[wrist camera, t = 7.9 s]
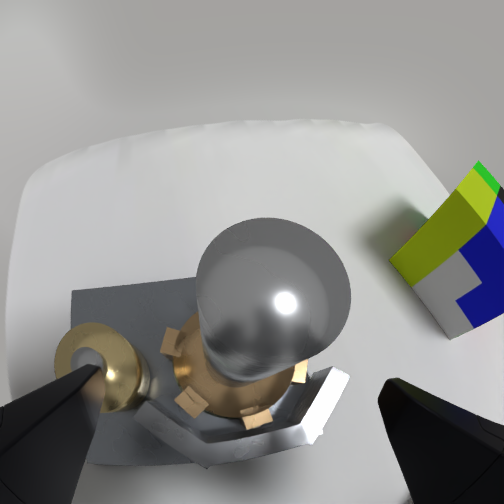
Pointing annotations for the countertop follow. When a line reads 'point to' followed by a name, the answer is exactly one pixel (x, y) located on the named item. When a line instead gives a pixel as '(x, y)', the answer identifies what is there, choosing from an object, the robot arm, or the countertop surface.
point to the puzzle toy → (460, 256)
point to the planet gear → (257, 318)
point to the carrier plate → (172, 384)
